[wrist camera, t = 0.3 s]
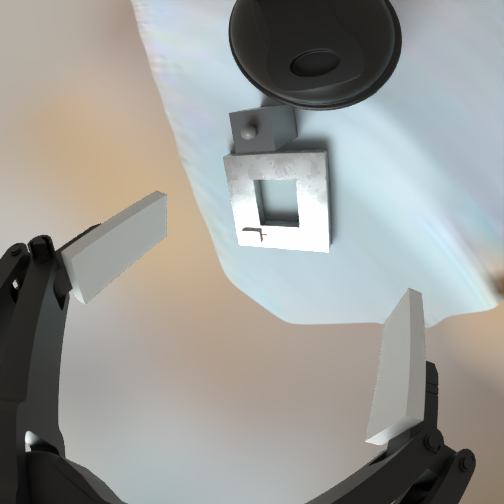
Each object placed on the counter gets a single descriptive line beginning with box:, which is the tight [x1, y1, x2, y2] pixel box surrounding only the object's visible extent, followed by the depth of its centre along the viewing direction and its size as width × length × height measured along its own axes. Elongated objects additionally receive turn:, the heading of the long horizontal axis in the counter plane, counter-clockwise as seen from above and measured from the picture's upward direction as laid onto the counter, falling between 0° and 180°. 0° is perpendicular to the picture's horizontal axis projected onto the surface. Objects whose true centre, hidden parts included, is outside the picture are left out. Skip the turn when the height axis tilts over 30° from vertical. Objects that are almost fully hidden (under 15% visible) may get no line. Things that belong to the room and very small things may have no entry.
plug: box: [229, 105, 297, 153], centre depth 30 cm, size 4×4×10 cm
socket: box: [223, 150, 331, 252], centre depth 39 cm, size 14×14×3 cm
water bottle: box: [229, 0, 402, 111], centre depth 18 cm, size 10×10×23 cm
